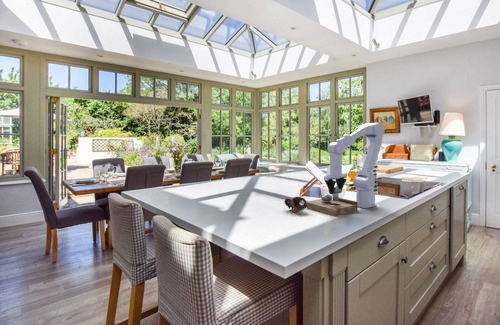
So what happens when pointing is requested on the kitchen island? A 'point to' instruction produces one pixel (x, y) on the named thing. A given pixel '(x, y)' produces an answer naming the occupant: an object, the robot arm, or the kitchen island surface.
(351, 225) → the kitchen island surface
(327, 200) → the seated shaft
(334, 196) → the stepped metal shaft
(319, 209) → the block
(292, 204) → the brown animal figurine
